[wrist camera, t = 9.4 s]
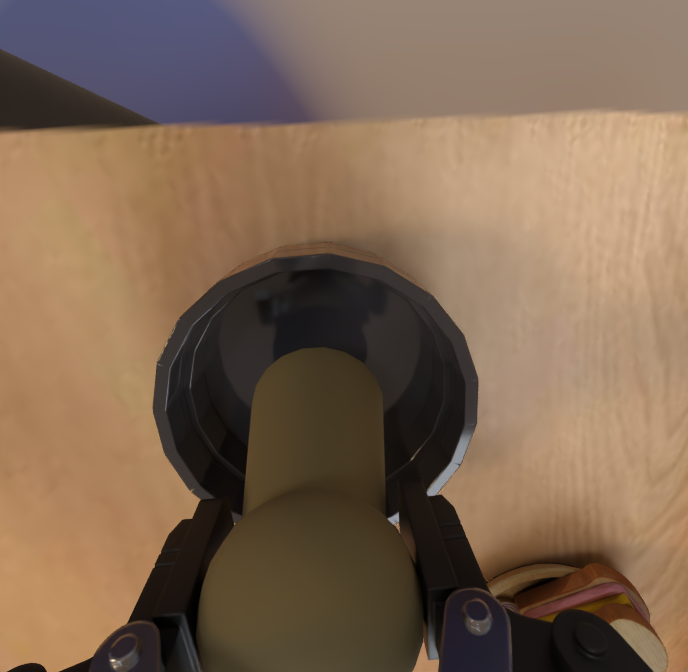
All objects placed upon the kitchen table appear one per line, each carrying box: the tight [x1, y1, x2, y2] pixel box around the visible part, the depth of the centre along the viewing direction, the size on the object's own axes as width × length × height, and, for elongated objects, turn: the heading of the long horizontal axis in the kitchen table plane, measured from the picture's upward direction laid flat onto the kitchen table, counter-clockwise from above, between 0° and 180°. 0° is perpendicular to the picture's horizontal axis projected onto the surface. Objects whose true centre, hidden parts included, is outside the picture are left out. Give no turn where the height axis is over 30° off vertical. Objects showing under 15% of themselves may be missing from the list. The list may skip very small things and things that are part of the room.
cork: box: [196, 347, 423, 672], centre depth 13 cm, size 6×6×11 cm
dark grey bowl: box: [153, 242, 478, 525], centre depth 20 cm, size 14×14×5 cm
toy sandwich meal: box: [487, 563, 668, 672], centre depth 27 cm, size 12×14×5 cm
